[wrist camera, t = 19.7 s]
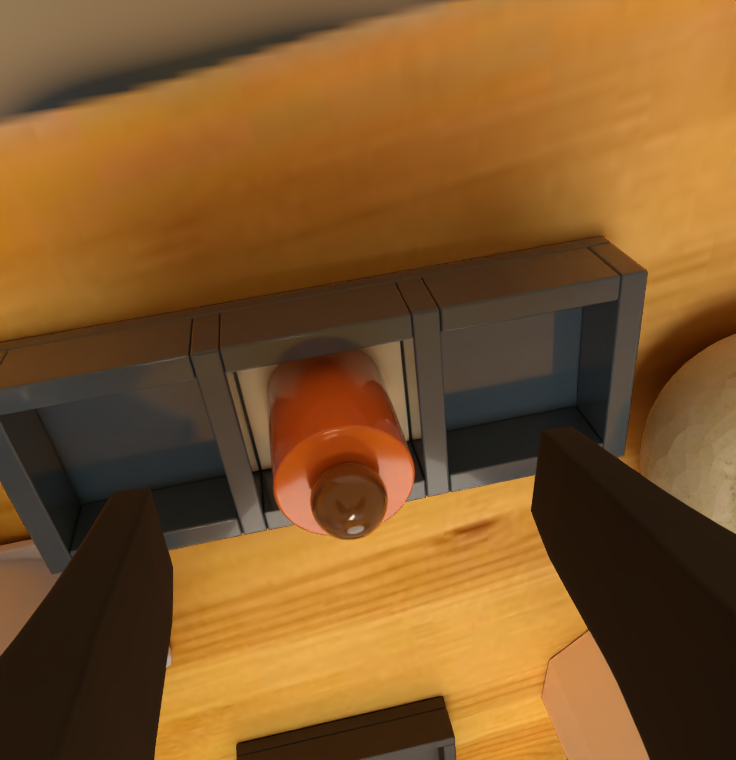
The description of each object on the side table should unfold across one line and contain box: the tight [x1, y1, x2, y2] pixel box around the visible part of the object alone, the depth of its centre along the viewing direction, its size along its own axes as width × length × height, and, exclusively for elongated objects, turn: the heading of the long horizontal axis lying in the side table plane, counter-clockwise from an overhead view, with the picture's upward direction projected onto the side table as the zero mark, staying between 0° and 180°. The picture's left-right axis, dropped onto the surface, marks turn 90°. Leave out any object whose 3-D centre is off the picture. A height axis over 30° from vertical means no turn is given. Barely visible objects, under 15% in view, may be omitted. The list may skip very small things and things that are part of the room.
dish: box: [0, 236, 648, 574], centre depth 21 cm, size 19×7×3 cm, turn 96°
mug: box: [542, 631, 650, 760], centre depth 30 cm, size 12×9×10 cm
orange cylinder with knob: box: [266, 349, 415, 540], centre depth 19 cm, size 4×4×6 cm
